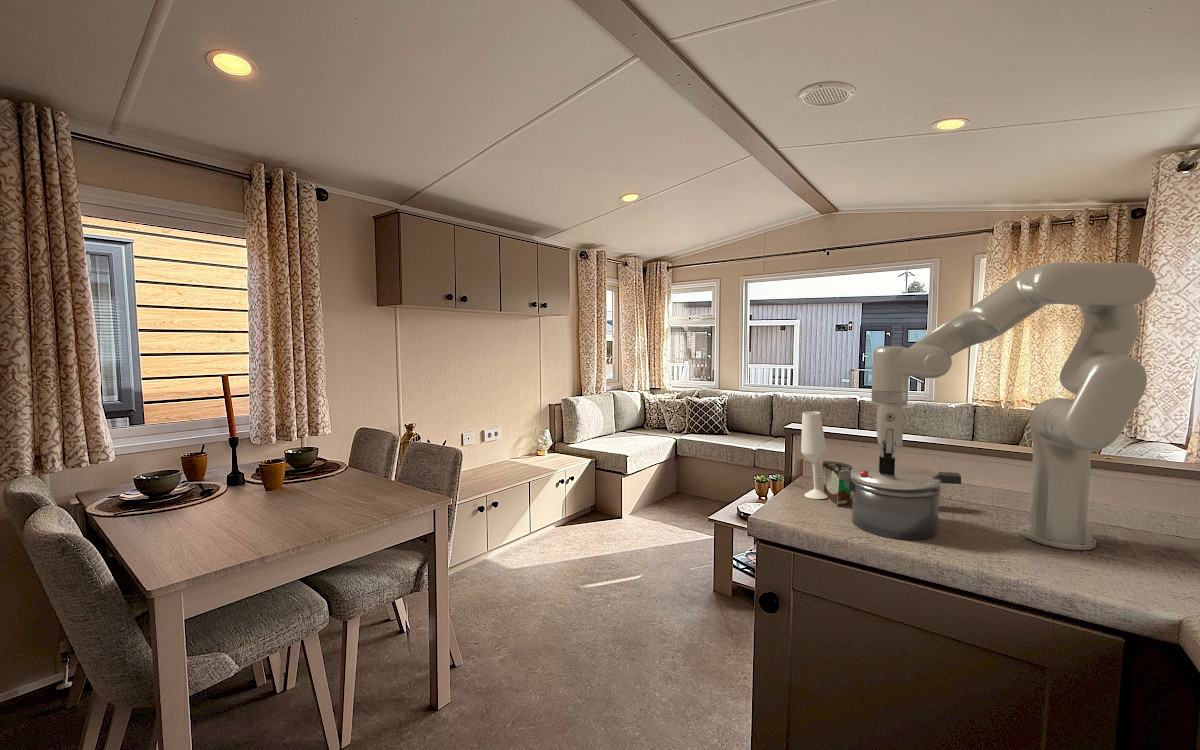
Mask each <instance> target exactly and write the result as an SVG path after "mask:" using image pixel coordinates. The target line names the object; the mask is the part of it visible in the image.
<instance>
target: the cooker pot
mask: <svg viewBox="0 0 1200 750" xmlns="http://www.w3.org/2000/svg"><path fill="white" fill-rule="evenodd" d="M849 491H851V492H852V494H851V496H852V497H851V498H852V501H851V502H852V505H851V509H852V510H851V522H852V524H853V525H854V526H855V527H857V528H858V529H860V530H862V531H865V532H867V533H869V534H872V535H875V536H878V537H883V538H887V539H892V540H900V541H917V542H918V541H926V540H927V541H928V540H931V539H933V538H936V537H937V536H938V534H939V533H938V532H939V509H940V502H939V494H940V495H941V492H942V488H941V485H940V486H938V487H936V488H932V489H924V490H894V489H885V488H878V487H873V486H868V485H865V484H861V483H859V482H856V481H854V480H853V479H852V478H851V477H849Z"/></svg>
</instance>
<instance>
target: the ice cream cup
mask: <svg viewBox="0 0 1200 750" xmlns="http://www.w3.org/2000/svg"><path fill="white" fill-rule="evenodd" d="M821 468H822V485H823V486H822V487H823V488H822V489H823V490H822V491H824V492H825V493H826V495H827V497H828V498H826V499H827V500H828V501H829V502H830V503H832V504H833V505H834V504H835V505H834V506H836V507H837V508H842V506H843V507H847V506H849V505H850V504H851V498H852V497H851V496H852V491H849V477H851V470H852V469H853V468H854V467H853V466H852V465H850V464H848V463H844V462H839V461H831V460H822V463H821Z"/></svg>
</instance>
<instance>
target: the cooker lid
mask: <svg viewBox="0 0 1200 750" xmlns="http://www.w3.org/2000/svg"><path fill="white" fill-rule="evenodd" d="M936 472H937V471H933V470H930V469H928V468H923V467H920V466H919V467H918V466H912V465H906V464H905V465H904V464H895V473H894V475H891V474H881V473H879V463H875V464H873V463H872V464H865V465H864V464H863V465H858V466H855V467H853V469H852V470H851V478H852V479H853V480H854V481H856V482H859V483H861V484H865V485H868V486H873V487H878V488H885V489H894V490H924V489H932V488H936V487H938V486H941V485H942V484H948V485H949V484H950V485H953V484H954V485H962V475H961V474H960V473H959V472H952V471H951V472H950V471H946V472H945V471H938V472H937V473H936Z"/></svg>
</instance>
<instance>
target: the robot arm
mask: <svg viewBox="0 0 1200 750" xmlns="http://www.w3.org/2000/svg"><path fill="white" fill-rule="evenodd" d="M1156 286H1157V279H1156V276H1155V274H1154V273H1153V272H1152V270H1150V268H1148V267H1146V266H1144V265H1142V264H1139V263H1135V262H1051V263H1050V262H1049V263H1046V264H1042V265H1037V266H1032V267H1030V268H1027V269H1025V270H1023V271H1021V272H1020V273H1018V274H1016V275H1015V276H1014V277H1012V278H1011V279H1010V280H1008V281H1006V282H1005V283H1004V284H1002V285H1001V286H999V287H998V288H996V289H995V290H994V291H993V292H991V293H990V294H989V295H988V294H987V296H986V297H984V298H982V299H981V300H980V301H978V302H977V303H975V304H974V305H972V306H970V307H969V308H967V309H966V310H964V311H962V312H961V313H959V314H958V315H956V316H955V317H953V318H952V319H949V320H948V321H947V322H945V323H943V324H941V325H940V326H939V327H936V328H935V329H934V330H932V331H930V332H928V334H926V335H925V336H923V337H922V338H920V339H919V340H917V341H916V342H914V343H913V344H912V345H911V346H909V347H905V346H901V345H899V346H898V345H896V346H894V345H892V346H890V345H889V346H888V345H883V346H882V345H881V346H876V347H875V348H874V349H873V353H872V370H871V371H872V376H871V404H873V405H876V436H877V437H876V438H877V443H878V445H879V446H880V454H879V458H878V459H879V460H878V461H879V462H878V464H879V473H881V474H891V475H894V473H895V465H896V458H895V457H896V456H895V450H896V446H897V447H898V449H902V448H903V446H904V445H903V443H904V442H903V441H904V440H903V437H904V436H903V431H904V429H903V428H904V427H903V426H904V425H903V424H904V413H903V411H904V410H903V407H904V406H908V402H909V401H908V398H909V377H914V378H915V377H916V378H922V379H938V378H940V377H943V376H945V375H947V373H948V372H949V371H950V370H951V368H952V366H953V359H952V357H953V356H954V355H956V354H958V353H959V352H961V351H963V350H965V349H968V348H969V347H972V346H974V345H977V344H981V343H985V342H989V341H992V340H993V339H995V338H998V337H1000V336H1002V335H1003V334H1005V333H1007V332H1008V331H1009V330H1011V329H1013V328H1014V327H1015V326H1017V325H1018V324H1019V323H1021V322H1023V321H1024V320H1026V319H1027V318H1029V317H1030V316H1032V315H1034V314H1035V313H1036V312H1038V311H1039V310H1040V309H1042V308H1043V307H1046V306H1047V305H1048V306H1049V305H1072V306H1078V308H1079V309H1080V312H1081V313H1082V317H1083V326H1082V330H1081V332H1080V334H1079V336H1078V339H1077V341H1076V343H1075V344H1074V345H1073V347H1072V350H1071V351H1070V353H1069V355H1068V358H1067V359H1066V361H1065V362H1064V365H1063V366H1062V369H1061V371H1060V374H1059V381H1060V384H1061V386H1062V387H1063V388H1064V389H1065V390H1066V391H1068V392H1070V393H1072V394H1075V396H1074V398H1073V399H1071V398H1065V397H1054V398H1048V399H1046V400H1043V401H1041V402H1039V404H1037V405H1036V406H1035V407H1034V408H1033V410H1032V412H1031V413H1030V419H1029V420H1030V421H1029V424H1030V425H1029V426H1030V434H1031V441H1032V463H1031V464H1032V466H1031V480H1030V481H1031V482H1030V483H1031V484H1030V485H1031V487H1030V504H1029V520H1028V521H1029V522H1028V523H1026V524H1022V525H1021V526H1020V527H1019V532H1020V534H1021V536H1023V537H1024V538H1026V539H1028V540H1030V541H1033V542H1035V543H1038V544H1041V545H1045V546H1049V547H1054V548H1058V549H1064V550H1071V551H1089V550H1093V549H1095V548H1096V546H1097V540H1096V539H1098V538H1103V539H1104V540H1106V539H1107V540H1113V541H1116V540H1118V532H1117V531H1116V530H1115V529H1114V530H1111V529H1105V528H1104V527H1103V526H1097V525H1096V526H1095V525H1094V526H1093V525H1092V524H1090V523H1089V522H1088V515H1089V514H1088V513H1089V497H1090V483H1091V482H1090V479H1091V468H1092V466H1091V464H1092V463H1091V461H1092V460H1091V453H1090V452H1092V451H1093V452H1094V451H1099V450H1103V449H1105V448H1107V447H1108V446H1111V445H1112V444H1113V443H1114V442H1115V441H1116V440H1117V439H1118V438H1119V437H1120V435H1121V433H1122V432H1123V430H1124V428H1125V426H1126V425H1127V423H1128V422H1129V420H1130V419H1131V417H1132V415H1133V414H1134V411H1135V410H1136V409H1137V406H1138V404H1139V402H1140V401H1141V399H1142V397H1143V395H1144V393H1145V391H1146V389H1147V384H1148V375H1147V371H1146V369H1145V367H1144V366H1143V365H1142V364H1141V362H1139V361H1138V360H1137V359H1136V358H1133V357H1131V356H1130V353H1131V352H1132V350H1133V347H1134V345H1135V343H1136V341H1137V337H1138V335H1139V332H1140V320H1139V319H1140V318H1139V315H1138V312H1137V310H1136V307H1135V306H1136V304H1140V303H1142V302H1143V301H1145V300H1147V299H1149V297H1150V296H1151V295H1152V294H1153V292H1154V291H1155V289H1156Z"/></svg>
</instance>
